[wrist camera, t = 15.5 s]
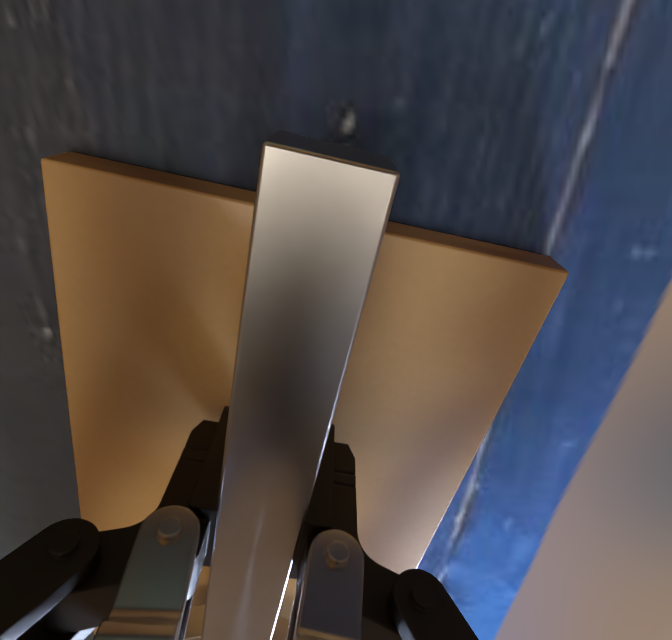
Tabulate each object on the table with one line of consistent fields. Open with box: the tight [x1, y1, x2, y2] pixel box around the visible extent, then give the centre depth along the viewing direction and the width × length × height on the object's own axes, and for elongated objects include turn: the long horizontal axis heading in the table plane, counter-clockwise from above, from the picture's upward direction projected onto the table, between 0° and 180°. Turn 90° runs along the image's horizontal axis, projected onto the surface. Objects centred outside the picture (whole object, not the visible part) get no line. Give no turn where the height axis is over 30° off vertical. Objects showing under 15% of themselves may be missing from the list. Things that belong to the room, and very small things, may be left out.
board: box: [41, 151, 568, 635], centre depth 16 cm, size 13×22×1 cm, turn 168°
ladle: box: [184, 130, 400, 640], centre depth 13 cm, size 24×6×3 cm, turn 168°
